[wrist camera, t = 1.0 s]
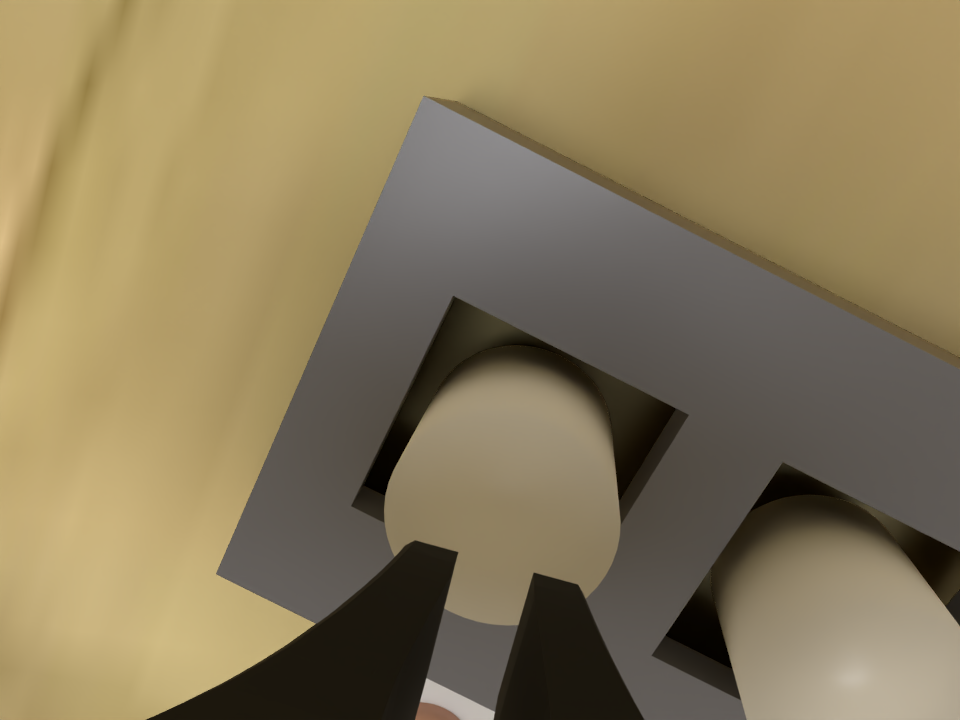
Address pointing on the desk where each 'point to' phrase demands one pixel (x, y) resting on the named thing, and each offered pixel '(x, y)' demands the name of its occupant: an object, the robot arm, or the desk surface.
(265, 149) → the desk surface
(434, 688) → the pattern card
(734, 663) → the button
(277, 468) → the grey slotted tray
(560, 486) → the button
